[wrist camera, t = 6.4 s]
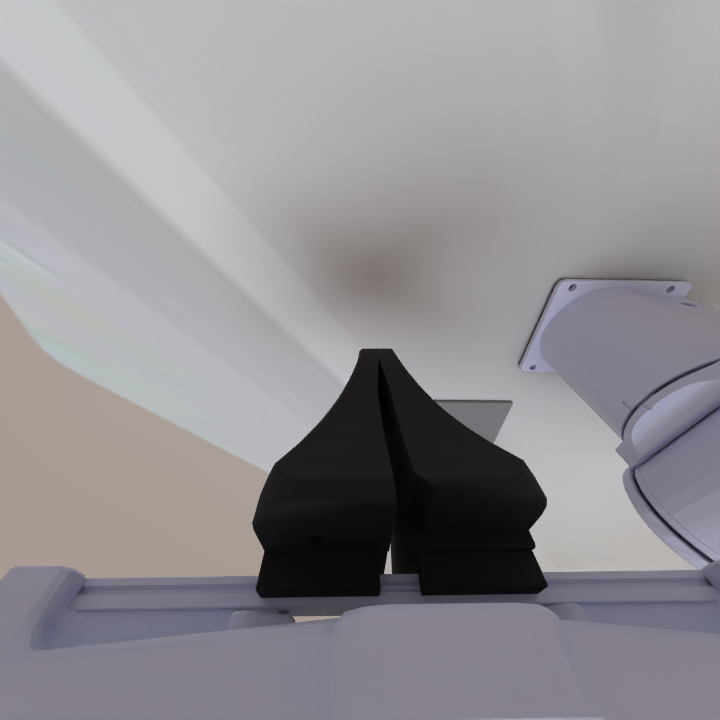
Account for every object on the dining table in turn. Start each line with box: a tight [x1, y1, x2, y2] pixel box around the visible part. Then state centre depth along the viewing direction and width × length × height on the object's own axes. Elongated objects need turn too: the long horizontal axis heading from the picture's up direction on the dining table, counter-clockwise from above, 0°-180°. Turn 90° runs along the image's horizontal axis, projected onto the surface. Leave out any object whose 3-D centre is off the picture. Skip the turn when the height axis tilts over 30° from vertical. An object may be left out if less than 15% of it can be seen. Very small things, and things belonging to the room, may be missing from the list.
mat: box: [434, 400, 513, 443], centre depth 30 cm, size 10×15×1 cm, turn 179°
